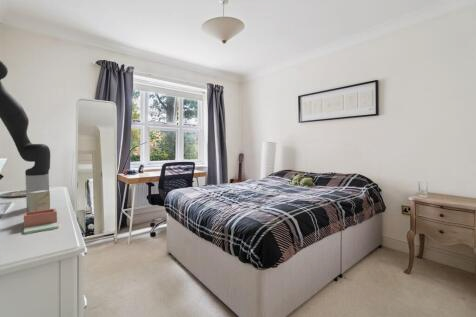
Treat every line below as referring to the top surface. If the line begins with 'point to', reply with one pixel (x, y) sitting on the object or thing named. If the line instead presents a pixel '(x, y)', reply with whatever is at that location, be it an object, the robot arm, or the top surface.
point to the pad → (40, 228)
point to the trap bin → (40, 217)
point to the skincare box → (39, 200)
